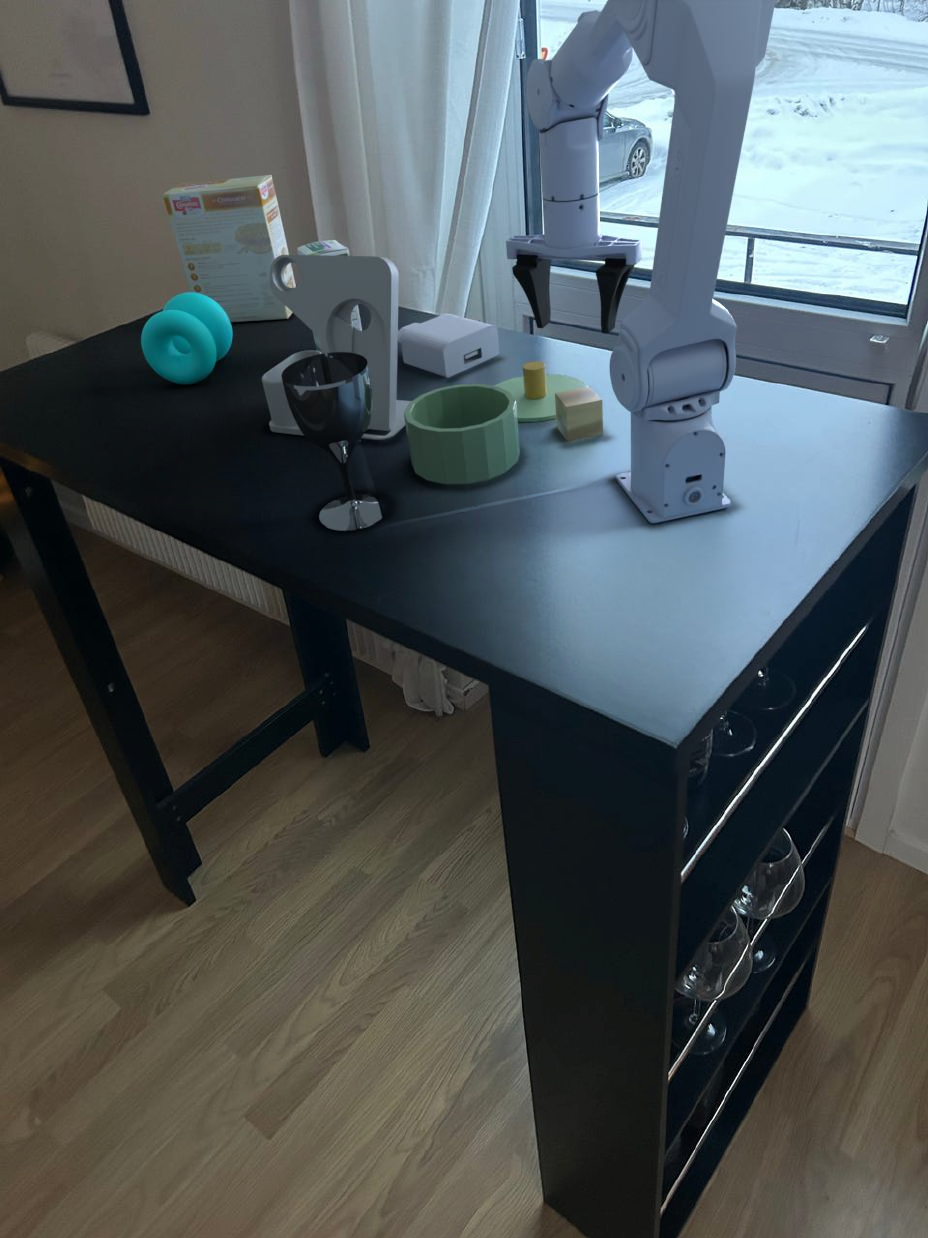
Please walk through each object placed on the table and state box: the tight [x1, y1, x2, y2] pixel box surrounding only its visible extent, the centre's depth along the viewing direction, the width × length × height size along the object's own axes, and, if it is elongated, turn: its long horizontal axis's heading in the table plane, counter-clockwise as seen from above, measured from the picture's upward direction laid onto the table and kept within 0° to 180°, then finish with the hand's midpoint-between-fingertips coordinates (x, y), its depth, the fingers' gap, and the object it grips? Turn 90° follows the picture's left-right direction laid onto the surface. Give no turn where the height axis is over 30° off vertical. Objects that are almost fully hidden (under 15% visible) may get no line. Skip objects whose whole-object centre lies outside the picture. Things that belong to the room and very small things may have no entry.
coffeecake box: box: [162, 174, 297, 323], centre depth 141 cm, size 15×7×20 cm, turn 82°
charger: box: [398, 313, 500, 379], centre depth 122 cm, size 5×9×15 cm
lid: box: [494, 360, 588, 423], centre depth 107 cm, size 12×12×5 cm
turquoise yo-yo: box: [140, 291, 234, 386], centre depth 125 cm, size 10×10×10 cm
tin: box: [404, 383, 521, 485], centre depth 96 cm, size 11×11×6 cm
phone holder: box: [261, 254, 413, 443], centre depth 105 cm, size 17×10×18 cm, turn 65°
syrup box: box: [296, 239, 363, 352], centre depth 124 cm, size 6×6×14 cm
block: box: [555, 385, 604, 442], centre depth 99 cm, size 4×4×4 cm
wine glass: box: [281, 352, 385, 532], centre depth 88 cm, size 8×8×15 cm
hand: (575, 327), depth 101 cm, fingers open, 7 cm apart
